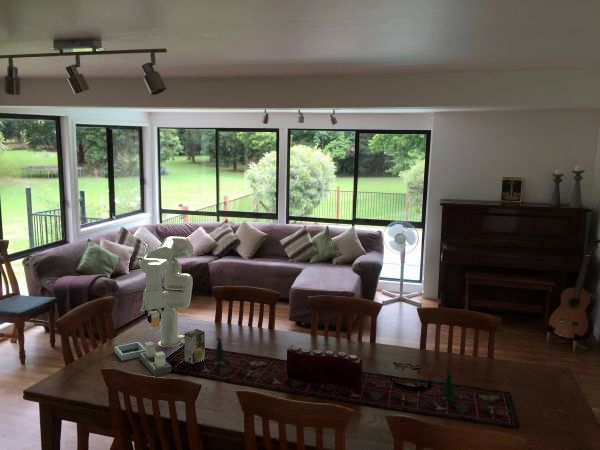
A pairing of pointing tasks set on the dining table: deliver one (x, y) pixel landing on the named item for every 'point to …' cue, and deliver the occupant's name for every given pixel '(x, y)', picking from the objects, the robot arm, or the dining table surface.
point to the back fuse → (149, 349)
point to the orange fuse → (154, 321)
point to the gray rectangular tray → (151, 364)
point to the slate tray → (128, 347)
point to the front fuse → (159, 359)
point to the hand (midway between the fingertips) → (154, 321)
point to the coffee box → (194, 346)
